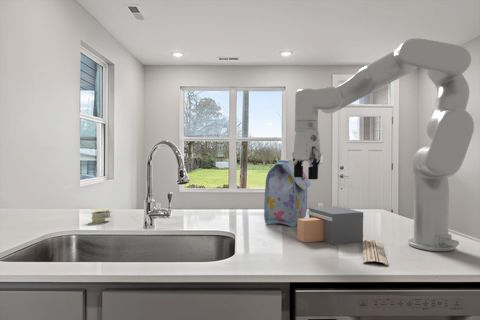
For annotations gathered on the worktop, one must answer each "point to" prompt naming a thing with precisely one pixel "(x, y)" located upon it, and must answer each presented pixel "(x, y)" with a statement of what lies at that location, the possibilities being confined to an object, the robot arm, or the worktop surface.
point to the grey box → (339, 224)
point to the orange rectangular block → (310, 229)
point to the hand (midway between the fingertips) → (305, 178)
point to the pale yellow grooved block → (100, 215)
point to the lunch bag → (285, 195)
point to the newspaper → (373, 252)
